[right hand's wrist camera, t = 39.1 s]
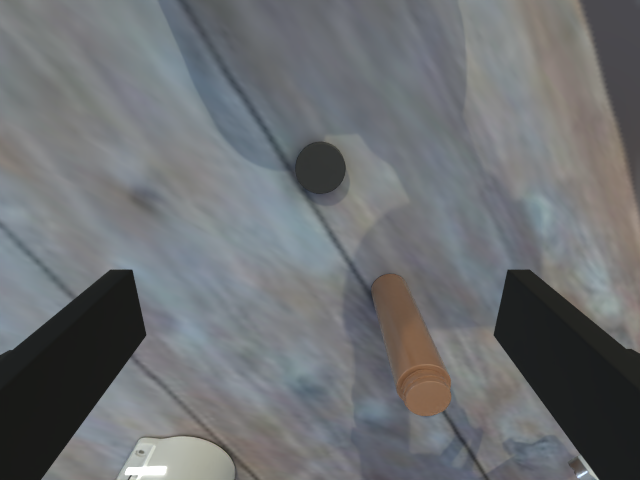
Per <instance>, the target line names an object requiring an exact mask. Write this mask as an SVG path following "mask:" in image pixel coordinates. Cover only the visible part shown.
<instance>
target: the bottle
mask: <svg viewBox="0 0 640 480" xmlns="http://www.w3.org/2000/svg"><path fill="white" fill-rule="evenodd" d="M371 295H372V298H373V302H374V306H375V310H376V314H377V318H378V321H379V325H380V329H381V333H382V337H383V340H384V344H385V348H386V352H387V356H388V360H389V363H390V367H391V371H392V375H393V379H394V383H395V386H396V390H397V393H398V395H399V397H400V398H401V399H402V400H403V401H404V403H405V405H406V407H407V408H408V409H409V410H410V411H411V412H413V413H415V414H417V415H420V416H432V415H436V414H438V413H440V412H443V411H444V410H445V409H446V408H447V407H448V405H449V403H450V401H451V392H450V387H451V379H450V376H449V374H448V372H447V369H446V367H445V365H444V363H443V361H442V359H441V357H440V354H439V352H438V350H437V348H436V346H435V344H434V341H433V339H432V337H431V335H430V333H429V331H428V329H427V326H426V324H425V322H424V320H423V318H422V316H421V314H420V311H419V309H418V307H417V305H416V303H415V301H414V298H413V296H412V294H411V292H410V290H409V288H408V286H407V283H406V282H405V280H404V279H403V278H402V277H400V276H398V275H395V274H386V275H383V276H381V277H379V278H378V279H376V280H375V282H374V283H373V285H372V288H371Z"/></svg>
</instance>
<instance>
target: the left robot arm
mask: <svg viewBox="0 0 640 480" xmlns="http://www.w3.org/2000/svg"><path fill="white" fill-rule="evenodd" d="M568 464H569V465H570V467H571V468H572V469H573V470H574V472H575V474H576V476H577V477H578V478H579V480H599V479H598V478H597V476H596V475H595V473H594V472H593V471H592V469H591V468H590V467H589V465H588V464H587V462H586V461H585V460H584V458H583V457H582V456H581V454H580V455H578V456H577V457H575V458H574V459H572V460H570V461H569V462H568ZM116 480H235V467H234V463H233V461H232V459H231V458H230V456H229V455H228V454H227V453H226V452H225V451H224V450H223V449H221V448H220V447H219V446H217V445H215V444H213V443H211V442H209V441H206V440H204V439H200V438H196V437H188V436H178V437H171V438H165V439H157V438H141V439H139V441H138V442H137V444H136V446H135V447H134V449H133V451H132V453H131V454H130V456H129V458H128V459H127V461H126V463H125V465H124V466H123V468H122V470H121V472H120V473H119V475H118V477H117V478H116Z"/></svg>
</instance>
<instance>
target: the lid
mask: <svg viewBox="0 0 640 480" xmlns="http://www.w3.org/2000/svg"><path fill="white" fill-rule="evenodd" d="M344 175H345V162H344V159H343V156H342V154H341V153H340V151H339V150H338V149H337V148H336V147H335V146H333V145H331V144H329V143H326V142H315V143H312V144H309V145H308V146H306V147H305V148H304V149H303V150H302V151H301V152H300V154H299V156H298V159H297V162H296V176H297V178H298V180H299V182H300V184H301V185H302V186H303V187H304V188H305V189H307V190H308V191H310V192H313V193H318V194H322V193H328V192H330V191H332V190H334V189H335V188H337V187H338V186H339V185H340V183H341V182H342V180H343V178H344Z"/></svg>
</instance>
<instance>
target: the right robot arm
mask: <svg viewBox="0 0 640 480" xmlns="http://www.w3.org/2000/svg"><path fill="white" fill-rule="evenodd" d="M145 336H146V331H145V326H144V322H143V317H142V312H141V308H140V303H139V299H138V294H137V289H136V285H135V280H134V275H133V271H132V270H109V271H108V272H107V273H106V274H105V275H103V276H102V277H101V278H100V279H98V280H97V281H96V282H95V283H94V284H92V285H91V286H90V287H89V288H87V289H86V290H85V291H84V292H83V293H81V294H80V295H79V296H78V297H77V298H75V299H74V300H73V301H72V302H70V303H69V304H68V305H67V306H66V307H64V308H63V309H62V310H61V311H60V312H58V313H57V314H56V315H55V316H53V317H52V318H51V319H50V320H49V321H47V322H46V323H45V324H44V325H42V326H41V327H40V328H39V329H38V330H36V331H35V332H34V333H33V334H32V335H30V336H29V337H28V338H27V339H25V340H24V341H23V342H22V343H21V344H19V345H18V346H17V347H16V348H14V349H13V350H9V351H7V352H5V353H3V354H1V355H0V480H41V479H42V478H43V476H44V475H45V473H46V472H47V471H48V469H49V468H50V467H51V465H52V464H53V462H54V461H55V460H56V458H57V457H58V456H59V454H60V453H61V452H62V450H63V449H64V447H65V446H66V445H67V443H68V442H69V441H70V439H71V438H72V436H73V435H74V434H75V432H76V431H77V430H78V428H79V427H80V426H81V424H82V423H83V421H84V420H85V419H86V417H87V416H88V415H89V413H90V412H91V410H92V409H93V408H94V406H95V405H96V404H97V402H98V401H99V399H100V398H101V397H102V395H103V394H104V393H105V391H106V390H107V389H108V387H109V386H110V384H111V383H112V382H113V380H114V379H115V378H116V376H117V375H118V373H119V372H120V371H121V369H122V368H123V367H124V365H125V364H126V362H127V361H128V360H129V358H130V357H131V356H132V354H133V353H134V352H135V350H136V349H137V347H138V346H139V345H140V343H141V342H142V341H143V339H144V338H145ZM494 336H495V338H496V339H497V341H498V342H499V343H500V345H501V346H502V347H503V349H504V350H505V352H506V353H507V354H508V356H509V357H510V358H511V360H512V361H513V362H514V364H515V365H516V367H517V368H518V369H519V371H520V372H521V373H522V375H523V376H524V378H525V379H526V380H527V382H528V383H529V384H530V386H531V387H532V389H533V390H534V391H535V393H536V394H537V395H538V397H539V398H540V399H541V401H542V402H543V404H544V405H545V406H546V408H547V409H548V410H549V412H550V413H551V415H552V416H553V417H554V419H555V420H556V421H557V423H558V424H559V426H560V427H561V428H562V430H563V431H564V432H565V434H566V435H567V436H568V438H569V439H570V441H571V442H572V443H573V445H574V446H575V447H576V449H577V450H578V452H579V453H580V454H581V456H582V457H583V458H584V460H585V461H586V462H587V464H588V465H589V467H590V468H591V469H592V471H593V472H594V473H595V475H596V476H597V478H598V479H599V480H640V353H638V352H636V351H634V350H632V349H626V348H624V347H623V346H622V345H621V344H619V343H618V342H617V341H616V340H615V339H613V338H612V337H611V336H610V335H608V334H607V333H606V332H605V331H604V330H602V329H601V328H600V327H599V326H598V325H596V324H595V323H594V322H593V321H591V320H590V319H589V318H588V317H587V316H585V315H584V314H583V313H582V312H580V311H579V310H578V309H577V308H576V307H574V306H573V305H572V304H571V303H570V302H568V301H567V300H566V299H565V298H563V297H562V296H561V295H560V294H559V293H557V292H556V291H555V290H554V289H553V288H551V287H550V286H549V285H548V284H546V283H545V282H544V281H543V280H542V279H540V278H539V277H538V276H537V275H535V274H534V273H533V272H532V271H531V270H508V271H507V275H506V280H505V285H504V289H503V294H502V299H501V303H500V308H499V312H498V317H497V322H496V326H495V331H494Z"/></svg>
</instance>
